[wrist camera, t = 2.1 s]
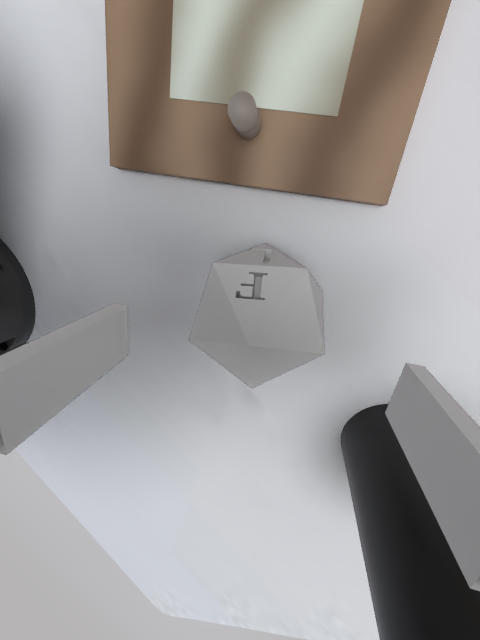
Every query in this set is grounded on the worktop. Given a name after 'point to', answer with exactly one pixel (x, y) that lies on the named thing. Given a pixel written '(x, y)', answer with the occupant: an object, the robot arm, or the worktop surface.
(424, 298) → the worktop surface
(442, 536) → the water bottle
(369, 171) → the nest board
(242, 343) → the die
